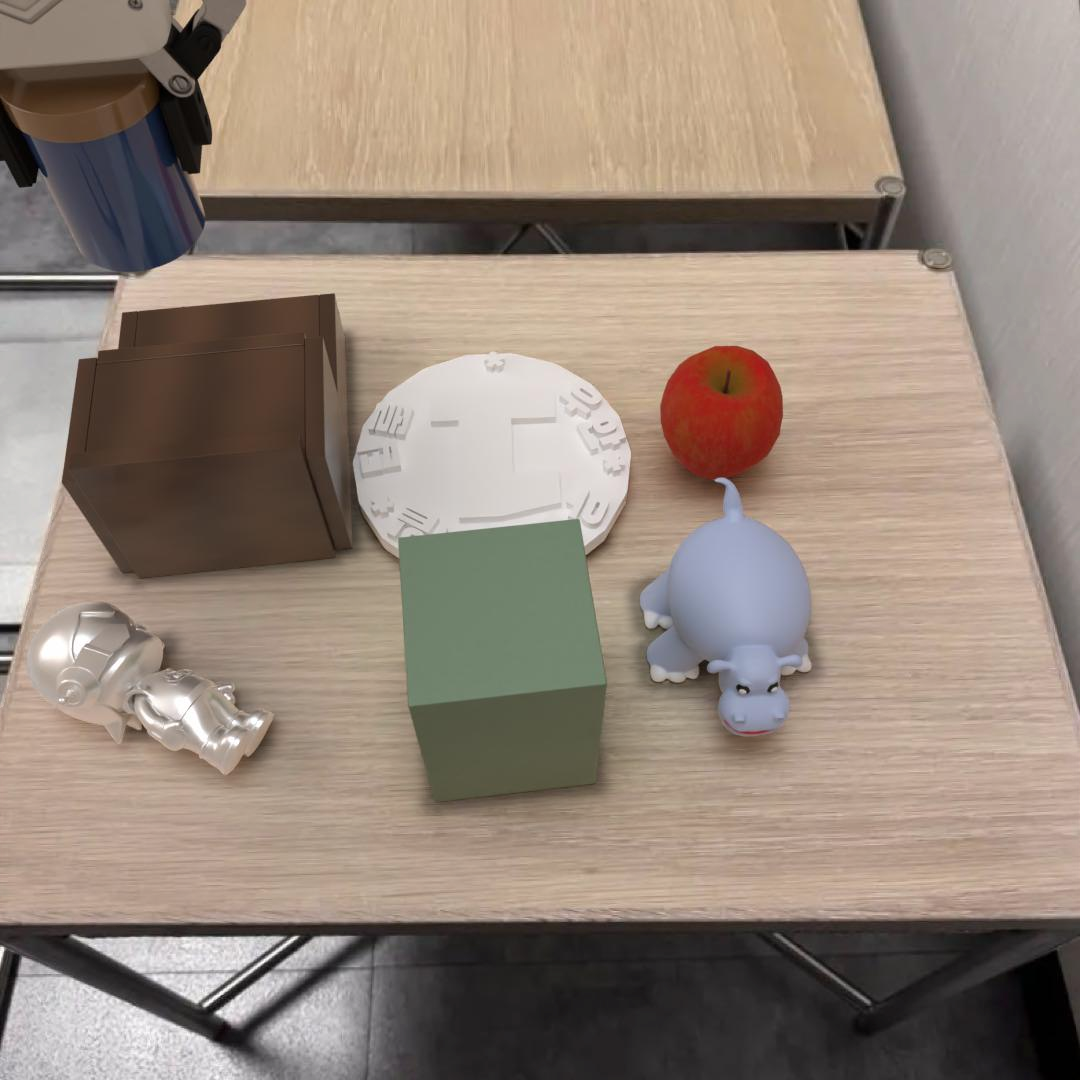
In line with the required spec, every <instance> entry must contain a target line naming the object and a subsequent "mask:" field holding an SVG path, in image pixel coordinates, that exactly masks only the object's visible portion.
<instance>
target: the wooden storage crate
mask: <svg viewBox="0 0 1080 1080" xmlns="http://www.w3.org/2000/svg"><path fill="white" fill-rule="evenodd" d="M346 354H347V352H346V335H345V331H344V327H343V323H342V319H341V315H340V310H339V306H338V301H337V297H336V294H335V292H333V293H322V294H321V293H320V294H312V295H311V294H310V295H301V296H300V295H299V296H288V297H277V298H265V299H256V300H245V301H235V302H221V303H213V304H212V303H211V304H199V305H191V306H189V305H188V306H180V307H179V306H178V307H168V308H159V309H158V308H157V309H145V310H135V311H134V310H133V311H124V312H121V319H120V329H119V336H118V346H117V348H113V349H102V350H98V351H97V357H88V358H79V359H78V362H77V368H76V375H75V383H74V392H73V398H72V406H71V412H70V420H69V427H68V434H67V440H66V441H67V442H66V448H65V455H64V462H63V468H62V476H61V484H62V485H63V487H64V489H65V490H66V491H67V493H68V494H69V497H70V498H71V499H72V501H73V502H74V503H75V505H76V506H77V508H78V510H79V511H80V513H81V514H82V515H83V517H84V518H85V520H86V522H87V523H88V524H89V526H90V527H91V529H92V530H93V532H94V533H95V534H96V536H97V538H98V539H99V541H100V542H101V543H102V546H103V547H104V549H106V551H107V552H108V554H109V556H110V557H111V558H112V560H113V561H114V563H115V565H116V566H117V567H118V569H119V570H120V572H121V573H132V572H133V573H135V575H136V576H137V579H145V578H155V577H165V576H171V575H172V576H174V575H181V574H183V575H184V574H193V573H202V572H203V573H204V572H211V571H223V570H231V569H240V568H250V567H258V566H259V567H260V566H268V565H269V566H270V565H277V564H278V565H279V564H287V563H297V562H307V561H317V560H326V559H334V558H336V551H342V550H352V549H353V530H352V502H351V501H352V500H351V498H352V497H351V470H350V468H351V467H350V442H349V440H350V439H349V437H350V436H349V415H348V413H349V412H348V410H349V409H348V385H347V384H348V383H347V382H348V381H347V357H346Z"/></svg>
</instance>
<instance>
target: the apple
mask: <svg viewBox="0 0 1080 1080" xmlns="http://www.w3.org/2000/svg"><path fill="white" fill-rule="evenodd" d="M661 397H662V398H661V401H660V405H659V412H660V413H659V414H660V415H659V416H660V425H661V431H662V434H663V438H664V440H665V442H666V444H667V446H668V448H669V449H670V452H671V453H672V455H673V456H674V457H675V458H676V460H677V461H679V463H681V465H682V466H683V467H684V468H685V469H686V470H688V471H689V472H691V473H693V474H694V475H695V476H697V477H699V478H703V479H707V480H714V481H715V479H716V478H726V479H728V478H732V477H734V476H737V475H739V474H742V473H744V472H746V471H748V470H750V469H752V468H754V467H755V466H756V465H758V464H759V463H760V462H761V461H763V460H765V458H766V457H767V458H768V456H769V454H770V453H771V452H772V450H773V448H774V446H775V444H776V442H777V441H778V439H779V437H780V435H781V428H782V423H783V419H784V400H783V392H782V387H781V384H780V382H779V380H778V377H777V375H776V373H775V371H774V370H773V368H772V367H771V364H770V363H769V361H768V360H767V359H766V358H764V357H762V356H761V355H760V354H759V353H757V352H756V351H755V350H754V349H749V348H746V347H742V346H739V345H714V346H712V347H709V348H707V349H704V350H702V351H700V352H697V353H695V354H693V355H690V356H688V357H687V358H686V359H684V360H683V361H682V362H681V363H679V364H678V366H677V367H676V368H675V370H674V371H673V372H672V374H671V375H670V376H669V378H668V379H667V382H666V384H665V388H664V390H663V393H662V396H661Z"/></svg>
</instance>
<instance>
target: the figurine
mask: <svg viewBox="0 0 1080 1080" xmlns="http://www.w3.org/2000/svg"><path fill="white" fill-rule="evenodd" d="M165 647H166V644H165V643H164V642H163V641H162V640H161V638H160V637H159V636H157V635H155V634H153V633H150V632H149V629H148V628H147V627H145V626H143V625H142V624H140V622H135V620H134V619H133V618H132V617H130V616H129V615H128V614H127V613H125V612H124V611H122V609H120V608H119V607H117V606H116V605H113V604H111V603H109V602H106V601H103V600H93V601H92V600H89V601H82V602H78V603H73V604H71V605H69V606H66V607H64V608H61V609H60V610H58V611H57V612H55V613H54V614H52V615H51V616H50V617H49V618H47V620H45V621H44V623H42V625H41V626H40V627H39V628H38V630H36V632H35V633H34V635H33V637H32V639H31V640H30V642H29V645H28V649H27V653H26V671H27V674H28V678H29V681H30V683H31V685H32V686H33V688H34V690H35V691H36V692H37V693H38V694H39V695H40V697H41V698H43V699H44V700H45V701H46V702H47V703H48V704H50V705H51V706H52V707H54V708H55V709H57V710H58V711H60V712H61V713H63V714H65V715H67V716H69V717H71V718H73V719H76V720H79V721H82V722H85V723H89V724H92V725H98V726H103V727H104V728H105V729H106V731H107V732H108V734H109V735H110V736H111V738H112V739H113V741H114V742H115V743H116V744H117V745H120V744H121V743H122V741H123V739H124V734H125V731H126V728H127V726H128V727H130V728H132V729H134V730H137V731H141V730H142V729H143V727H144V728H145V730H146V731H147V734H148V735H149V736H150V737H152V738H153V739H155V740H156V741H157V742H159V743H160V744H161V745H162V746H163V747H165V748H166V749H168V750H169V751H171V752H178V751H179V750H182V749H183V750H184V749H185V750H188V751H191V752H193V753H195V754H197V755H198V758H199V759H200V760H204V761H206V762H207V763H208V764H209V765H211V766H212V767H214V768H215V769H217V770H218V771H219V772H220V773H221V774H222V775H224V776H228V775H229V774H231V773H232V772H233V771H234V769H235V768H236V767H237V766H238V764H239V763H240V761H241V759H242V757H243V755H244V756H246V757H247V758H248V757H250V756H252V754H254V753H255V751H256V750H257V749H258V747H259V746H260V744H261V743H262V741H263V739H264V738H265V735H266V734H267V732H268V730H269V728H270V726H271V724H272V721H273V720H274V716H275V715H274V713H273V712H271V711H270V710H266V709H264V708H261V707H257V708H255V709H254V710H252V712H251V713H247V712H245V711H244V710H243V709H239V708H238V707H236V697H235V695H234V693H233V692H234V691H235V689H236V685H234V683H232V682H231V683H230V682H229V683H227V682H226V683H223V684H220V685H219V684H217V683H215V682H214V681H212V680H211V679H210V678H204V677H203V676H200V675H197V674H194V673H193V672H192V670H191V669H189V668H182V669H179V670H175V668H173V667H168V668H165V669H164V670H160V669H161V666H162V663H163V657H164V650H165ZM183 671H184V672H183ZM185 671H188V672H185Z"/></svg>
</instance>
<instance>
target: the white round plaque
mask: <svg viewBox="0 0 1080 1080" xmlns="http://www.w3.org/2000/svg"><path fill="white" fill-rule="evenodd" d="M626 435H627V434H626V433H625V429H624V427H623V423H622V420H621V418H620V414H618V413H617V412H616V410H615V409H614V408H613V407H612V406H611V405H610V403H609V402H608V401H607V400H606V398H604V396H603V395H602V394H601V393H600V391H598V389H597V388H596V387H595V386H594V384H592V383H590V382H588V381H587V380H586V379H583V378H581V376H579V375H576V374H575V373H573V372H572V371H569V370H568V369H566V368H564V367H562V366H561V365H559V364H557V363H555V362H551V361H547V360H543V359H538V358H534V357H530V356H526V355H522V354H517V353H513V352H510V353H507V352H506V353H498V351H497V350H496V351H489V353H485V354H484V353H481V354H479V353H478V354H466V355H462V356H459V357H456V358H453V359H450V360H446V361H443V362H440V363H436V364H433V365H431V366H430V365H429V366H427V367H425V368H422V369H421V370H419V371H418V372H417V373H415V374H413V375H412V376H411V377H409V378H407V379H406V380H405V381H402V383H400V384H398V385H396V386H395V387H394V388H393V389H391V390H389V391H388V392H387V393H386V394H385V396H384V397H383V399H382V400H381V401H380V402H376V405H375V409H374V410H373V411H372V413H371V414H370V416H369V417H368V418H367V419H366V421H365V422H364V423H363V425H362V428H361V432H360V436H359V439H358V442H357V444H356V450H355V453H354V457H353V461H352V467H353V468H352V469H353V473H354V480H355V485H356V486H355V487H356V495H357V500H358V504H359V508H360V509H359V510H360V512H361V515H362V516H363V518H364V520H365V521H366V523H367V524H368V525H369V527H370V529H371V530H372V532H373V533H374V534H375V536H376V537H377V539H378V541H379V543H380V544H381V545H382V547H383V548H384V550H386V551H387V552H389V553H390V554H391V555H393V556H394V557H396V558H397V559H399V547H398V538H400V537H410V536H419V535H429V534H439V533H448V532H458V531H467V530H477V529H486V528H496V527H505V526H515V525H524V524H534V523H543V522H553V521H563V520H572V519H579V520H580V525H581V531H582V537H583V543H584V549H585V554H586V556H587V555H588V554H590V553H591V552H592V551H593V550H595V549H596V548H597V547H598V546H600V545H601V544H602V543H603V542H605V540H606V539H607V537H608V535H609V533H610V532H611V530H612V528H613V526H614V525H615V523H616V522H617V519H618V518H619V517H620V514H621V513H622V511H623V510H624V508H625V506H626V503H627V497H628V496H627V495H628V488H629V487H628V486H629V477H630V469H631V460H632V451H631V447H630V445H629V441H628V439H627V436H626Z"/></svg>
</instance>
